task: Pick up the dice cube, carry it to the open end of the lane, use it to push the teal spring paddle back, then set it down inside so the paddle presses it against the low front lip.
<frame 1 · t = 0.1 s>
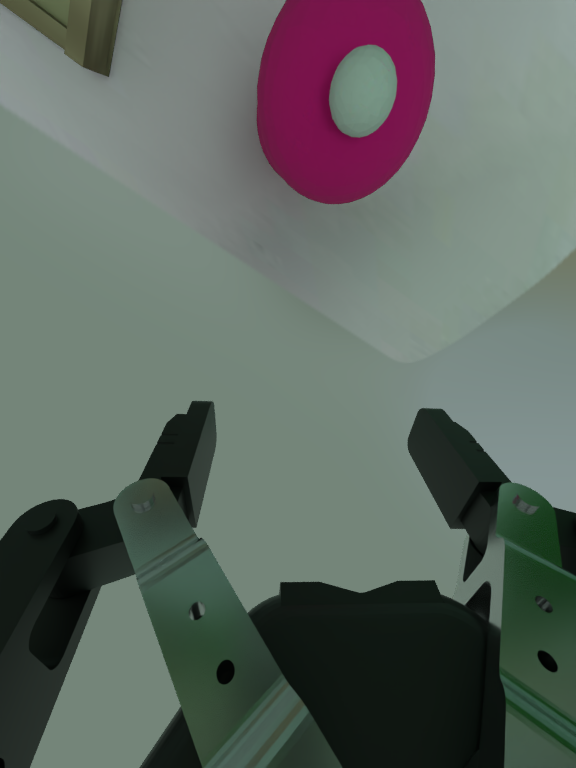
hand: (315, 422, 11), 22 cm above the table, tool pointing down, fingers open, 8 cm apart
pepper mill: (306, 124, 23), on the table
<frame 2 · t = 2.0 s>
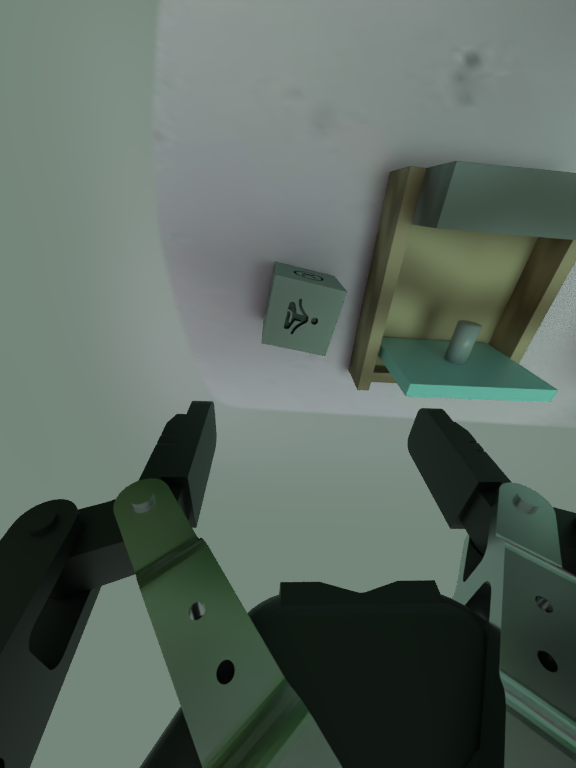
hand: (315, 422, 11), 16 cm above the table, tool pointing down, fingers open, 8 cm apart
pusher lane: (442, 292, 25), on the table
dice cube: (297, 298, 25), on the table
spring paddle: (459, 348, 23), point 5 cm above the table, slide at 0.0 cm
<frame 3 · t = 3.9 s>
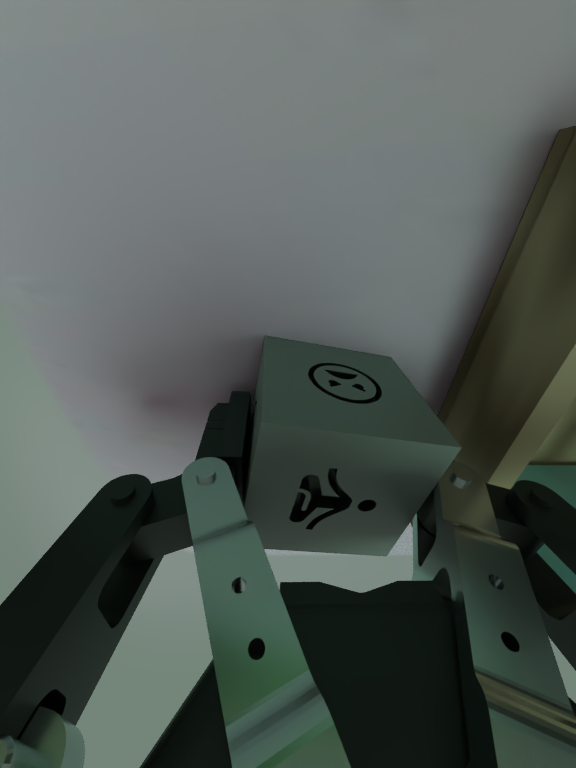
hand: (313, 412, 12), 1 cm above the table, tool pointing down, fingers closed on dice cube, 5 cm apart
dice cube: (313, 397, 13), on the table, touching gripper
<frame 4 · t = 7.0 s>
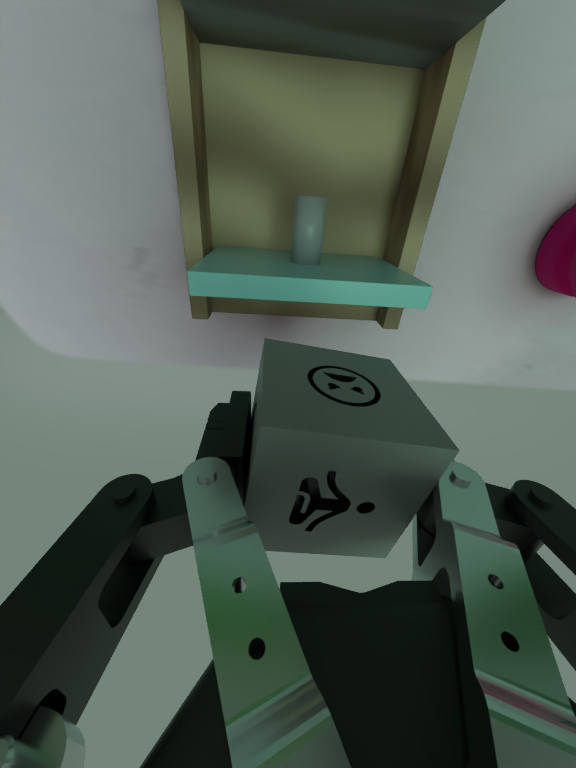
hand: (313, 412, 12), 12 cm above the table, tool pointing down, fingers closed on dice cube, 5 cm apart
pusher lane: (304, 178, 18), on the table
dice cube: (312, 399, 13), point 12 cm above the table, touching gripper
spring paddle: (307, 242, 15), point 5 cm above the table, slide at 0.0 cm
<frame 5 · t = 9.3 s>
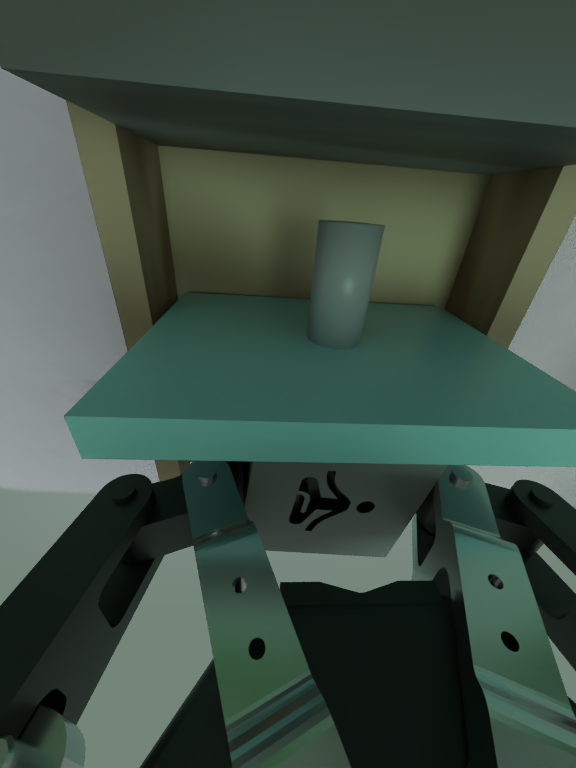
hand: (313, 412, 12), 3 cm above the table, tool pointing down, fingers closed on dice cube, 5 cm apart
pusher lane: (313, 302, 13), on the table
dice cube: (312, 399, 13), point 3 cm above the table, touching gripper, spring paddle
spring paddle: (338, 304, 8), point 5 cm above the table, slide at 4.4 cm, touching dice cube
when the fingers open (2 cm above the table, at t = 10.3 s): dice cube stays where it is, resting on pusher lane.
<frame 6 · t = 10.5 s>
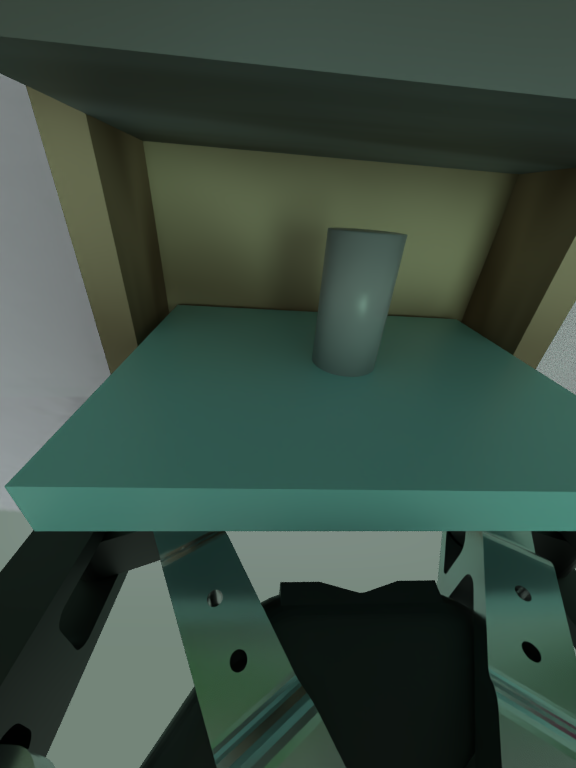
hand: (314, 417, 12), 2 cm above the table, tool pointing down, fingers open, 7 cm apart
pusher lane: (317, 313, 12), on the table
spring paddle: (349, 324, 7), point 5 cm above the table, slide at 4.4 cm
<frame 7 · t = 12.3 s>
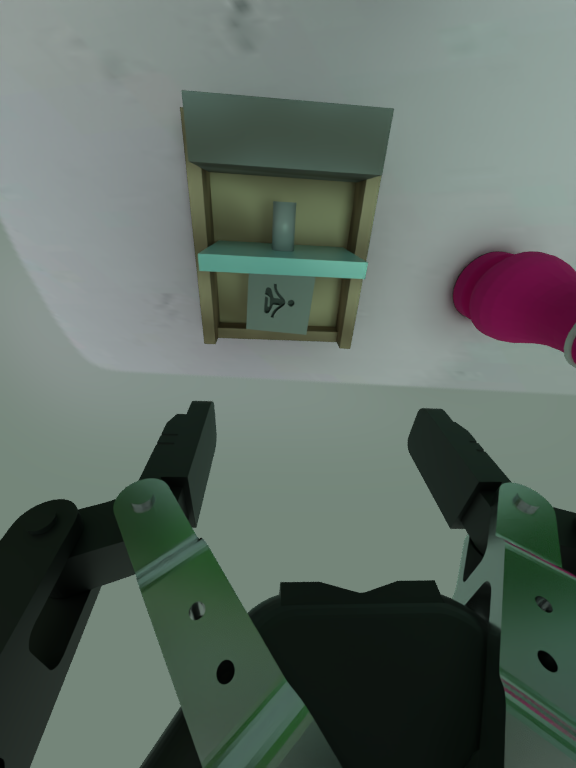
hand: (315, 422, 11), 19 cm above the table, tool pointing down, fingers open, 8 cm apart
pusher lane: (281, 246, 26), on the table
dice cube: (278, 286, 27), resting on pusher lane, touching spring paddle
spring paddle: (283, 234, 21), point 5 cm above the table, slide at 4.3 cm, touching dice cube
pepper mill: (483, 285, 29), on the table
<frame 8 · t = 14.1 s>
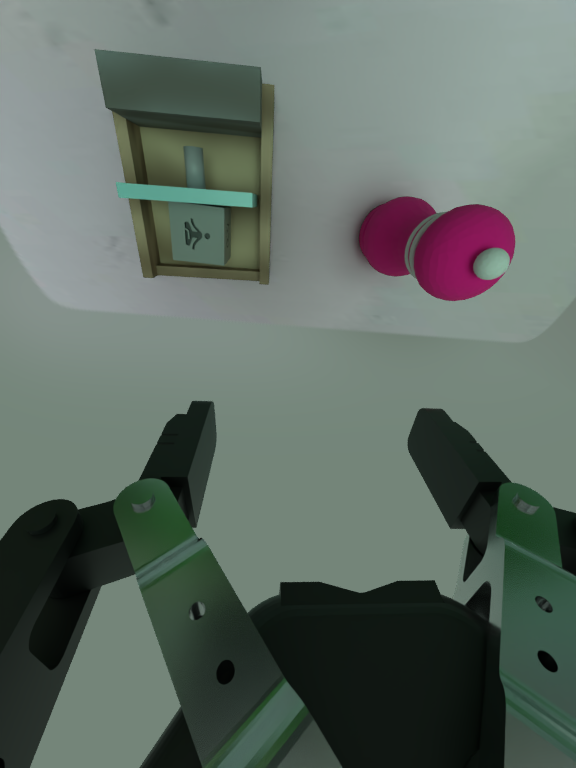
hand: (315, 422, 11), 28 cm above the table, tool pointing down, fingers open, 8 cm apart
pusher lane: (207, 195, 31), on the table
dice cube: (208, 230, 32), resting on pusher lane
spring paddle: (195, 176, 26), point 5 cm above the table, slide at 4.3 cm
pepper mill: (385, 234, 34), on the table
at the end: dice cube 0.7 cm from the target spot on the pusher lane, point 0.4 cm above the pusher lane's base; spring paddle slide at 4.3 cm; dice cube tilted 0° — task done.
